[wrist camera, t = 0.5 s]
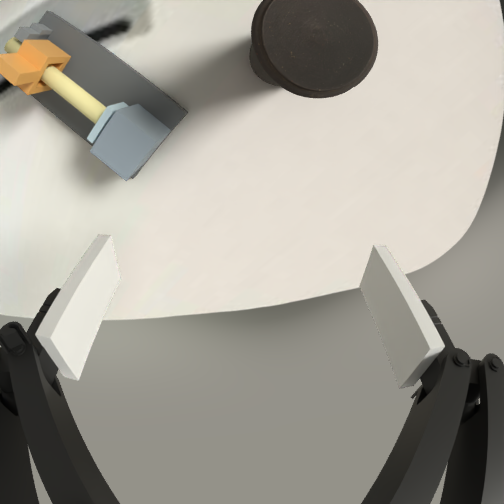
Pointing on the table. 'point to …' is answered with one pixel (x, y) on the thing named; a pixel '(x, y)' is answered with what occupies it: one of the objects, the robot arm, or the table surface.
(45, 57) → the sleeve
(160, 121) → the cord rig
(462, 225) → the table surface
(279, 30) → the container
